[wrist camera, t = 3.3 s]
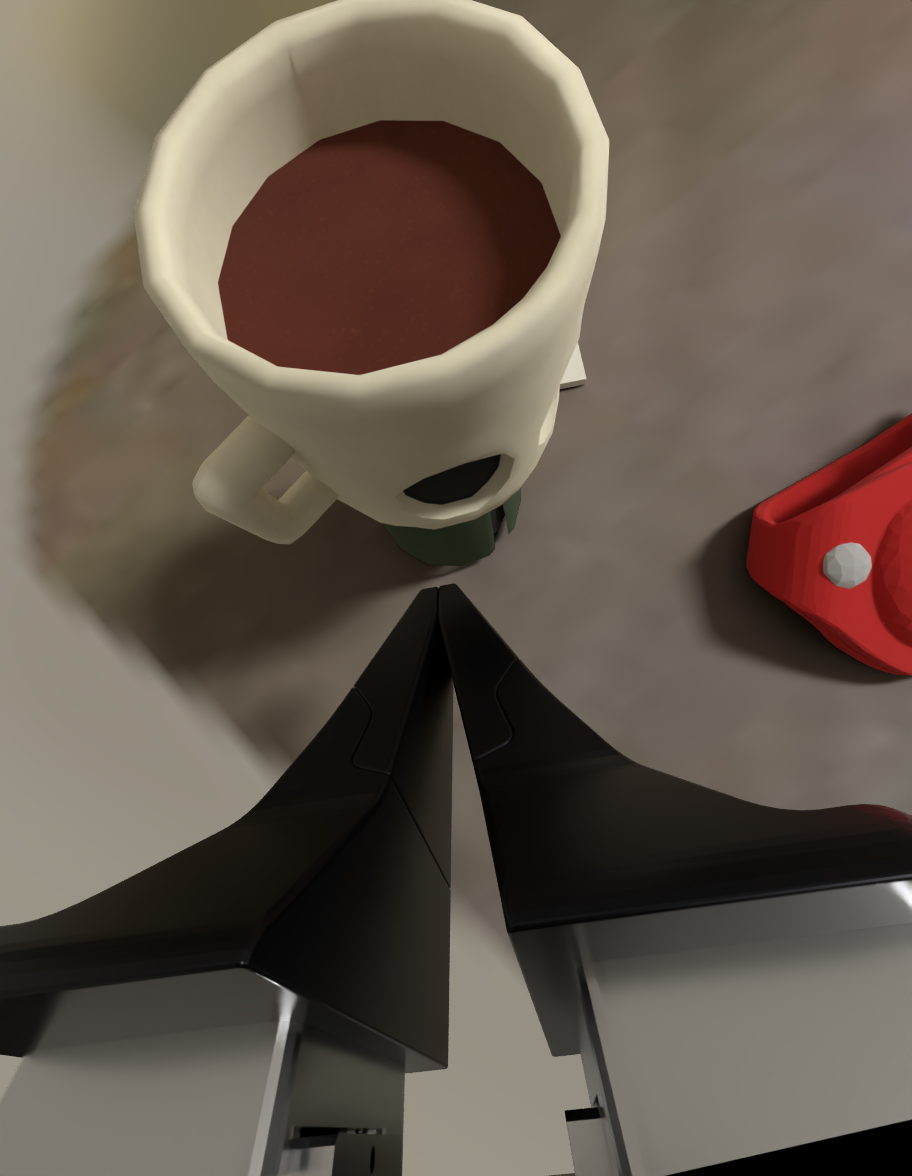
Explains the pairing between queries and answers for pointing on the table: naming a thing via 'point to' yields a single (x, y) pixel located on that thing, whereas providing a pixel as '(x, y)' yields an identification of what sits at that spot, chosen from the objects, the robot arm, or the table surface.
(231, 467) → the character mug
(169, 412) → the table surface
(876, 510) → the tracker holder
